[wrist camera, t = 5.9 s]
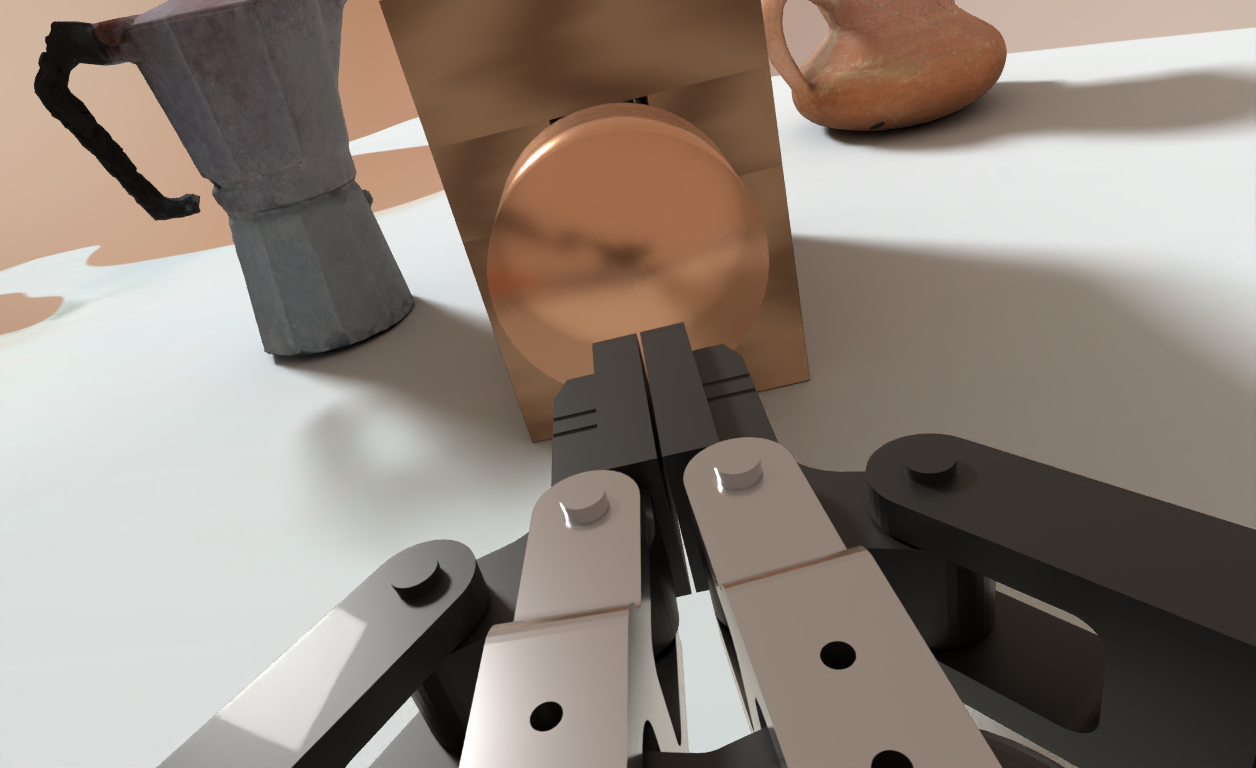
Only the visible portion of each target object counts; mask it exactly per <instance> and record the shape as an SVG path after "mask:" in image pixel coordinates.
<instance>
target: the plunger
mask: <svg viewBox="0 0 1256 768" xmlns="http://www.w3.org/2000/svg"><path fill="white" fill-rule="evenodd" d="M768 273H769V249H768V240H767V236H766V231H765V227H764V224H763V221H762V218H761V216H760V213H759V210H758V208H757V206H756V204H755V202H754V201H753V199H752V197H751V195H750V193H749V192H748V190H747V189H746V187H745V186H744V184H743V183H742V182H741V180H740V179H739V177H738V176H737V174H736V173H735V171H734V170H733V168H732V167H731V166H730V164H729V163H728V161H727V160H726V158H725V157H724V155H723V154H722V153H721V151H720V150H719V149H718V147H717V146H716V145H715V144H714V143H713V142H712V141H711V140H710V139H709V138H708V137H707V136H706V135H705V134H704V133H703V132H702V131H701V130H700V129H698V128H697V127H696V126H694V125H693V124H692V123H690V122H689V121H687V120H685V119H683V118H681V117H680V116H678V115H676V114H674V113H671V112H668V111H666V110H663V109H661V108H657V107H653V106H649V105H645V104H636V103H634V100H633V99H631V100H627V101H623V102H619V103H608V104H602V105H596V106H591V107H588V108H585V109H582V110H579V111H576V112H574V113H572V114H570V115H567V116H565V117H563V118H561V119H559V120H558V121H556V122H555V123H553V124H552V125H550V126H549V127H547V128H546V129H545V130H544V131H542V132H541V133H540V134H539V135H538V136H537V137H536V138H534V139H533V140H532V142H531V143H530V144H529V145H528V146H527V147H526V149H525V150H524V151H523V152H522V153H521V155H520V157H519V158H518V160H517V161H516V163H515V164H514V166H513V168H512V170H511V172H510V174H509V176H508V178H507V181H506V183H505V187H504V190H503V193H502V196H501V200H500V204H499V208H498V211H497V215H496V219H495V222H494V226H493V230H492V233H491V237H490V242H489V249H488V255H487V278H488V286H489V293H490V296H491V300H492V304H493V308H494V310H495V312H496V315H497V317H498V320H499V322H500V324H501V326H502V327H503V329H504V331H505V333H506V334H507V336H508V338H509V339H510V340H511V342H512V343H513V344H514V345H515V347H516V348H517V349H518V351H519V352H520V353H521V354H522V355H523V356H524V357H525V358H526V359H527V360H528V361H529V362H530V363H532V364H533V365H534V366H536V367H537V368H538V369H539V370H541V371H542V372H543V373H545V374H546V375H548V376H550V377H552V378H553V379H555V380H557V381H558V382H561V383H563V384H565V382H566V381H567V380H568V379H573V378H577V377H581V376H586V375H590V374H594V365H593V349H592V344H593V343H596V342H600V341H604V340H609V339H613V338H617V337H621V336H626V335H630V334H634V333H636V334H637V338H638V341H639V345H640V349H641V353H642V357H643V361H644V365H645V369H646V364H645V358H644V353H643V347H642V342H641V336H640V332H642V331H646V330H651V329H655V328H659V327H664V326H668V325H672V324H676V323H681V322H684V325H685V328H686V332H687V335H688V338H689V342H690V345H691V348H692V351H693V350H697V349H701V348H706V347H710V346H714V345H719V344H724V345H726V346H727V347H729V348H731V349H732V350H734V349H735V348H736V347H737V345H738V344H739V343H740V342H741V341H742V339H743V338H744V336H745V335H746V333H747V332H748V330H749V329H750V327H751V326H752V324H753V322H754V320H755V318H756V316H757V314H758V312H759V310H760V307H761V304H762V301H763V298H764V295H765V291H766V286H767V281H768ZM646 373H647V369H646ZM647 377H648V375H647ZM648 382H649V380H648Z"/></svg>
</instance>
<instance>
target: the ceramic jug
mask: <svg viewBox="0 0 1256 768" xmlns="http://www.w3.org/2000/svg"><path fill="white" fill-rule="evenodd" d="M786 1H787V0H762V2H761V5H762V12H763V20H764V28H765V35H766V43H767V51H768V57H769V58H770V61H771V63H772V64H773V66H774V67H775V68H776V70H777V71H778V72H779V74H780V75H781V76H782V78H783V79H784V80H785V81H786V83H787V84H788V85H789V87H790V88H791V89H792V98H793V102H794V104H795V106H796V108H797V110H798V111H799V113H800V114H801V115H802V116H804V117H805V118H806V119H808V120H810V121H811V122H813V123H815V124H818V125H820V126H825V127H829V128H835V129H843V130H852V131H880V130H890V129H897V128H904V127H909V126H913V125H918V124H922V123H926V122H930V121H933V120H936V119H939V118H942V117H944V116H947V115H949V114H951V113H954V112H956V111H958V110H960V109H962V108H964V107H965V106H967V105H969V104H971V103H972V102H974V101H975V100H977V99H978V98H980V97H981V96H982V95H983V94H985V93H986V92H987V91H988V90H989V89H990V88H991V87H992V86H993V85H994V84H995V83H996V82H997V80H998V79H999V77H1000V75H1001V73H1002V71H1003V68H1004V65H1005V61H1006V55H1007V51H1006V45H1005V42H1004V39H1003V37H1002V35H1001V34H1000V32H999V31H998V30H997V29H996V28H994V27H993V26H992V25H990V24H988V23H987V22H985V21H983V20H981V19H979V18H977V17H975V16H972V15H971V14H969V13H967V12H965V11H964V10H962V9H961V8H959V7H958V6H957V5H955V2H954V0H809V1H811V2H812V3H814V4H815V5H817V7H818V8H819V10H820V12H821V13H822V15H823V16H824V18H825V20H826V21H827V23H828V26H829V32H828V34H827V36H826V37H825V39H824V40H823V41H822V43H821V44H820V45H819V46H818V48H817V49H816V50H815V51H814V52H813V53H812V55H811V56H810V57H809V58H808V59H807V60H806V61H805V62H804V63H803V65H802V66H801V67H800V68H798V66H797V65H796V64H795V62H794V60H793V58H792V57H791V54H790V52H789V50H788V48H787V45H786V41H785V37H784V34H783V26H782V16H783V8H784V5H785V3H786Z"/></svg>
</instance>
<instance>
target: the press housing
mask: <svg viewBox="0 0 1256 768" xmlns="http://www.w3.org/2000/svg"><path fill="white" fill-rule="evenodd" d="M379 2H380V6H381V9H382V11H383V14H384V17H385V20H386V23H387V26H388V29H389V32H390V34H391V37H392V40H393V43H394V46H395V49H396V52H397V54H398V57H399V60H400V63H401V66H402V69H403V72H404V75H405V78H406V80H407V83H408V86H409V89H410V92H411V95H412V98H413V101H414V103H415V106H416V109H417V112H418V115H419V118H420V121H421V124H422V126H423V129H424V132H425V135H426V138H427V141H428V144H429V147H430V149H431V152H432V155H433V158H434V161H435V164H436V166H437V169H438V172H439V175H440V178H441V181H442V184H443V187H444V190H445V193H446V195H447V198H448V201H449V204H450V207H451V210H452V213H453V216H454V218H455V221H456V224H457V227H458V230H459V233H460V236H461V239H462V241H463V244H464V247H465V250H466V253H467V256H468V259H469V262H470V264H471V267H472V270H473V273H474V276H475V279H476V282H477V285H478V287H479V290H480V293H481V296H482V299H483V302H484V305H485V308H486V310H487V313H488V316H489V319H490V322H491V325H492V328H493V331H494V333H495V336H496V339H497V342H498V345H499V348H500V351H501V354H502V356H503V359H504V362H505V365H506V368H507V371H508V374H509V377H510V379H511V382H512V385H513V388H514V391H515V394H516V397H517V399H518V402H519V405H520V408H521V411H522V414H523V417H524V420H525V422H526V425H527V428H528V431H529V434H530V437H531V440H532V443H533V442H537V441H542V440H546V439H551V438H554V436H553V422H554V419H553V414H554V399H555V397H556V396H557V394H558V393H559V391H560V390H561V388H562V387H563V385H564V384H563V383H561V382H558V381H557V380H555V379H553V378H552V377H550V376H548V375H546V374H545V373H543V372H542V371H541V370H539V369H538V368H537V367H536V366H534V365H533V364H532V363H530V362H529V361H528V360H527V359H526V358H525V357H524V356H523V355H522V354H521V353H520V352H519V351H518V349H517V348H516V347H515V345H514V344H513V343H512V342H511V340H510V339H509V338H508V336H507V334H506V333H505V331H504V329H503V327H502V326H501V324H500V322H499V320H498V317H497V315H496V312H495V310H494V308H493V304H492V300H491V296H490V293H489V286H488V278H487V255H488V249H489V242H490V237H491V233H492V230H493V226H494V222H495V219H496V215H497V211H498V208H499V204H500V200H501V196H502V193H503V190H504V187H505V183H506V181H507V178H508V176H509V174H510V172H511V170H512V168H513V166H514V164H515V163H516V161H517V160H518V158H519V157H520V155H521V153H522V152H523V151H524V150H525V149H526V147H527V146H528V145H529V144H530V143H531V142H532V140H533V139H534V138H536V137H537V136H538V135H539V134H540V133H541V132H542V131H544V130H545V129H546V128H547V127H549V126H550V125H552V124H553V123H555V122H556V121H558V120H559V119H561V118H563V117H565V116H567V115H570V114H572V113H574V112H576V111H579V110H582V109H585V108H588V107H591V106H596V105H602V104H608V103H619V102H623V101H627V100H631V99H633V100H634V103H636V104H645V105H649V106H653V107H657V108H661V109H663V110H666V111H668V112H671V113H674V114H676V115H678V116H680V117H681V118H683V119H685V120H687V121H689V122H690V123H692V124H693V125H694V126H696V127H697V128H698V129H700V130H701V131H702V132H703V133H704V134H705V135H706V136H707V137H708V138H709V139H710V140H711V141H712V142H713V143H714V144H715V145H716V146H717V147H718V149H719V150H720V151H721V153H722V154H723V155H724V157H725V158H726V160H727V161H728V163H729V164H730V166H731V167H732V168H733V170H734V171H735V173H736V174H737V176H738V177H739V179H740V180H741V182H742V183H743V184H744V186H745V187H746V189H747V190H748V192H749V193H750V195H751V197H752V199H753V201H754V202H755V204H756V206H757V208H758V210H759V213H760V216H761V218H762V221H763V224H764V227H765V231H766V236H767V240H768V249H769V273H768V281H767V286H766V291H765V295H764V298H763V301H762V304H761V307H760V310H759V312H758V314H757V316H756V318H755V320H754V322H753V324H752V326H751V327H750V329H749V330H748V332H747V333H746V335H745V336H744V338H743V339H742V341H741V342H740V343H739V344H738V345H737V347H736V348H735V349H734V351H735V352H737V353H738V354H740V355H742V357H743V359H744V362H745V364H746V367H747V369H748V372H749V375H750V377H751V379H752V381H753V384H754V386H755V389H756V391H757V392H759V391H763V390H767V389H772V388H776V387H781V386H785V385H790V384H794V383H798V382H803V381H807V380H810V375H809V368H808V360H807V352H806V344H805V337H804V329H803V321H802V313H801V306H800V298H799V290H798V283H797V275H796V267H795V259H794V252H793V244H792V236H791V228H790V221H789V213H788V205H787V198H786V190H785V182H784V174H783V167H782V159H781V151H780V144H779V136H778V128H777V120H776V113H775V105H774V97H773V90H772V82H771V74H770V66H769V59H768V51H767V43H766V35H765V28H764V20H763V12H762V5H761V0H381V1H379Z"/></svg>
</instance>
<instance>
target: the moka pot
mask: <svg viewBox="0 0 1256 768" xmlns="http://www.w3.org/2000/svg"><path fill="white" fill-rule="evenodd" d="M346 1H347V0H168V1H167V2H165V3H163V4H161V5H159V6H157V7H155V8H153V9H151V10H149V11H147V12H145V13H143V14H141V15H133V16H129V17H123V18H117V19H112V20H108V21H103V22H99V23H95V24H90V23H84V22H53V23H52V24H51V31H50V34H49V36H47V37H45V42H46V44H47V47H46V51H47V52H42V54H41V55H40V58H39V62H38V64H39V66H40V69H39V71H38V73H37V75H36V77H35V82H34V89H35V93H36V94H37V96H38V97H39V98H40V100H41V101H42V103H43V105H44V106H45V107H46V109H47V110H48V111H49V112H50V113H51V115H52V116H53V117H54V118H56V119H58V120H60V122H61V123H62V124H63V125H64V127H65V128H67V129H69V131H71V133H73V134H74V135H75V137H76V138H77V139H78V140H79V142H80V143H81V144H82V146H83V147H85V148H86V149H87V150H88V151H90V152H91V153H92V154H93V155H95V156H96V158H97V159H98V160H99V162H100V163H101V164H102V165H103V166H104V168H105V169H106V170H107V171H108V172H109V173H110V174H111V175H112V176H113V177H115V178H116V179H117V180H118V181H119V182H120V184H121V185H122V187H123V188H125V190H126V191H127V192H128V194H129V195H131V196H133V197H134V198H135V200H136V202H137V203H138V204H140V205H141V206H142V207H143V208H144V209H145V210H146V211H147V212H148V213H149V214H150V215H151V216H152V217H153V219H154V220H155V221H156V220H167V219H171V218H181V217H185V216H189V215H192V214H195V213H199V212H200V209H199V203H200V196H197V195H194V194H186V195H184V196H182V197H180V198H167V197H164V196H163V195H162V194H161V193H160V192H159V191H158V190H157V189H156V188H155V187H154V186H153V185H152V184H151V183H150V182H149V181H148V180H146V179H145V178H144V177H143V175H141V174H140V173H138V172H137V171H136V170H137V168H136V167H135V165H134V164H133V163H132V162H131V160H130V159H129V158H128V156H127V155H126V153H124V152H123V149H122V148H121V147H120V146H119V145H118V144H117V143H116V142H115V141H114V140H113V139H112V138H111V136H110V134H109V133H108V132H107V131H106V130H105V129H104V128H103V127H102V126H101V125H99V124H98V123H97V122H96V120H95V118H94V116H93V115H92V114H91V113H90V112H89V110H88V109H87V107H86V106H85V105H84V103H83V102H82V101H81V100H79V99H78V98H77V97H75V96H74V95H73V94H72V93H71V92H70V90H69V88H68V81H69V75H70V71H71V70H72V69H73V68H74V67H76V66H77V65H78V64H79V63H85V64H95V65H115V64H121V63H125V62H131V63H133V64H136V65H137V66H138V68H139V70H140V71H141V73H142V75H143V76H144V78H145V80H146V81H147V83H148V85H149V87H150V88H151V90H152V92H153V93H154V95H155V97H156V99H157V100H158V102H159V104H160V105H161V107H162V109H163V110H164V112H165V114H166V115H167V117H168V119H169V121H170V122H171V124H172V126H173V127H174V129H175V131H176V132H177V134H178V136H179V138H180V140H181V141H182V143H183V145H184V147H185V148H186V150H187V152H188V153H189V155H190V157H191V159H192V161H193V163H194V164H195V166H196V168H197V169H198V171H199V172H200V174H201V176H202V177H203V178H207V179H209V180H210V181H211V182H212V183H213V184H214V188H213V191H212V194H213V196H214V198H215V200H216V201H217V203H218V204H219V205H220V206H221V207H223V209H224V210H225V211H226V212H227V214H228V216H229V225H230V228H231V232H232V237H233V242H234V244H235V248H236V252H237V255H238V258H239V261H240V264H241V268H242V271H243V274H244V277H245V281H246V285H247V289H248V292H249V296H250V299H251V303H252V307H253V310H254V314H255V318H256V321H257V324H258V328H259V332H260V336H261V339H262V343H263V346H264V351H265V352H267V353H268V354H273V355H280V356H294V355H305V354H313V353H319V352H325V351H329V350H332V349H337V348H341V347H345V346H349V345H352V344H354V343H356V342H359V341H362V340H364V339H366V338H369V337H370V336H372V335H374V334H377V333H379V332H381V331H383V330H387V329H388V328H389V327H391V326H392V325H394V324H396V323H397V322H399V321H400V320H401V319H402V318H404V316H405V315H406V314H408V313H409V311H410V310H411V309H412V307H413V304H414V300H413V297H412V295H411V293H410V291H409V288H408V286H407V284H406V282H405V280H404V278H403V276H402V273H401V271H400V269H399V267H398V265H397V263H396V261H395V259H394V257H393V255H392V253H391V250H390V248H389V246H388V244H387V242H386V240H385V238H384V235H383V233H382V231H381V229H380V227H379V225H378V223H377V220H376V218H375V216H374V214H373V212H372V210H371V204H372V202H373V198H372V196H371V194H370V193H369V191H367V190H362V189H361V188H360V186H359V185H358V184H357V183H356V182H355V181H354V179H355V176H356V169H355V166H354V163H353V160H352V157H351V154H350V151H349V138H348V133H347V128H346V124H345V119H344V115H343V110H342V105H341V100H340V96H339V91H338V71H339V59H340V42H341V28H342V13H343V7H344V4H345V3H346Z"/></svg>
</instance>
